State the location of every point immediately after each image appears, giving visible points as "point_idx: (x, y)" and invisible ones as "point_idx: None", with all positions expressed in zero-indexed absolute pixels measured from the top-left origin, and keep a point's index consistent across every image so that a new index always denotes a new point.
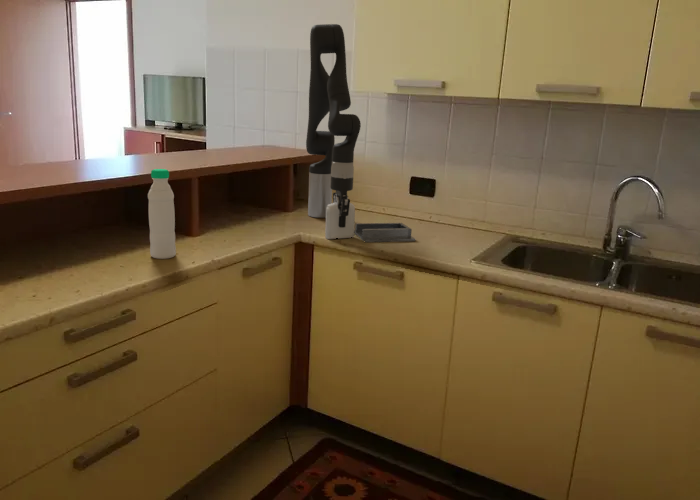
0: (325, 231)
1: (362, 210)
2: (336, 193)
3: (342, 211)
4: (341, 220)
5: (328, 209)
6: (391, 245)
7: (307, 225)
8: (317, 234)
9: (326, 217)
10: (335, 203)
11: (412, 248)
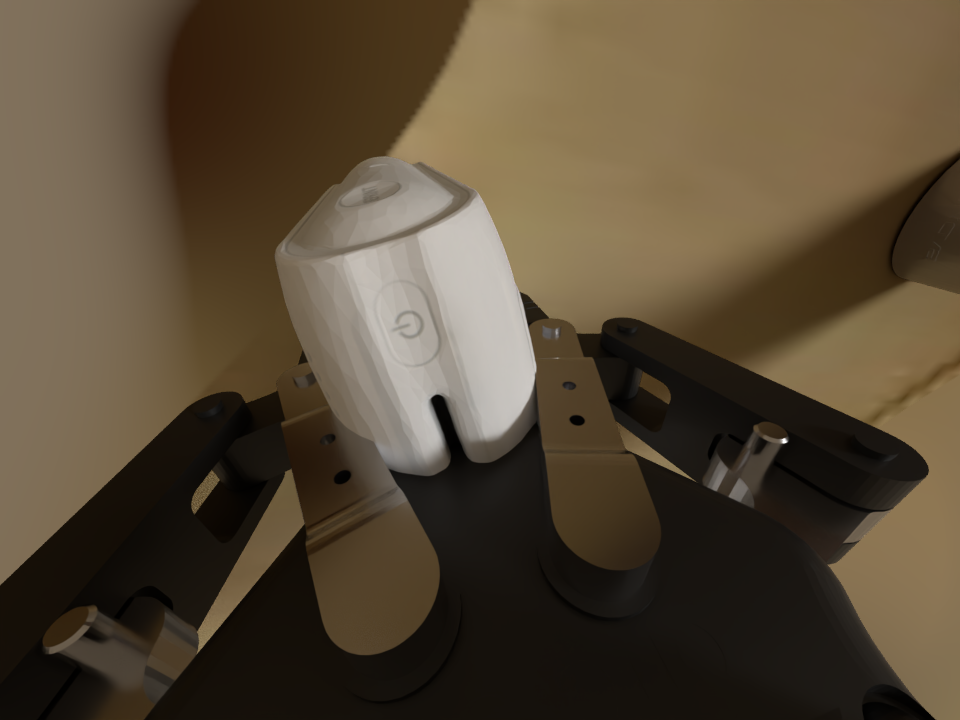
0: (424, 164)
1: (882, 411)
2: (705, 594)
3: (142, 467)
4: (302, 361)
5: (326, 230)
6: (274, 521)
7: (812, 59)
8: (518, 97)
9: (364, 175)
10: (397, 426)
11: (241, 581)
